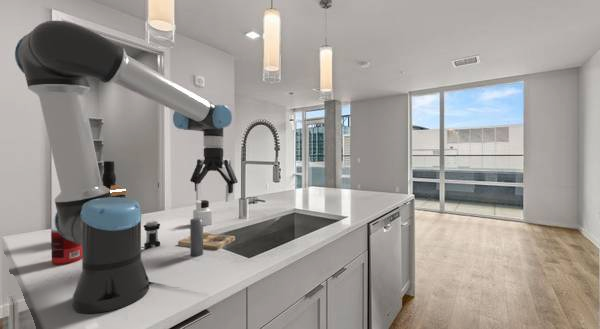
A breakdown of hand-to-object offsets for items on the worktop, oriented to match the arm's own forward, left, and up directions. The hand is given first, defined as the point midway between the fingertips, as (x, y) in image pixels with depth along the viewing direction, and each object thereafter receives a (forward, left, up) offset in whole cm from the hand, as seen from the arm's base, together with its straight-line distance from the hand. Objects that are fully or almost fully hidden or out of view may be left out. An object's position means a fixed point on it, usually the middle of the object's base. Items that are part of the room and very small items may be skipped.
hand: (213, 200), depth 106 cm
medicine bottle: (+22, +22, -17) cm, 36 cm away
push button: (-15, +16, -17) cm, 28 cm away
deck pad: (-16, -5, -17) cm, 24 cm away
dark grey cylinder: (-16, -5, -16) cm, 23 cm away
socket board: (-4, 0, -17) cm, 17 cm away
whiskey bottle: (-7, +46, -17) cm, 50 cm away
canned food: (-31, +33, -17) cm, 49 cm away
